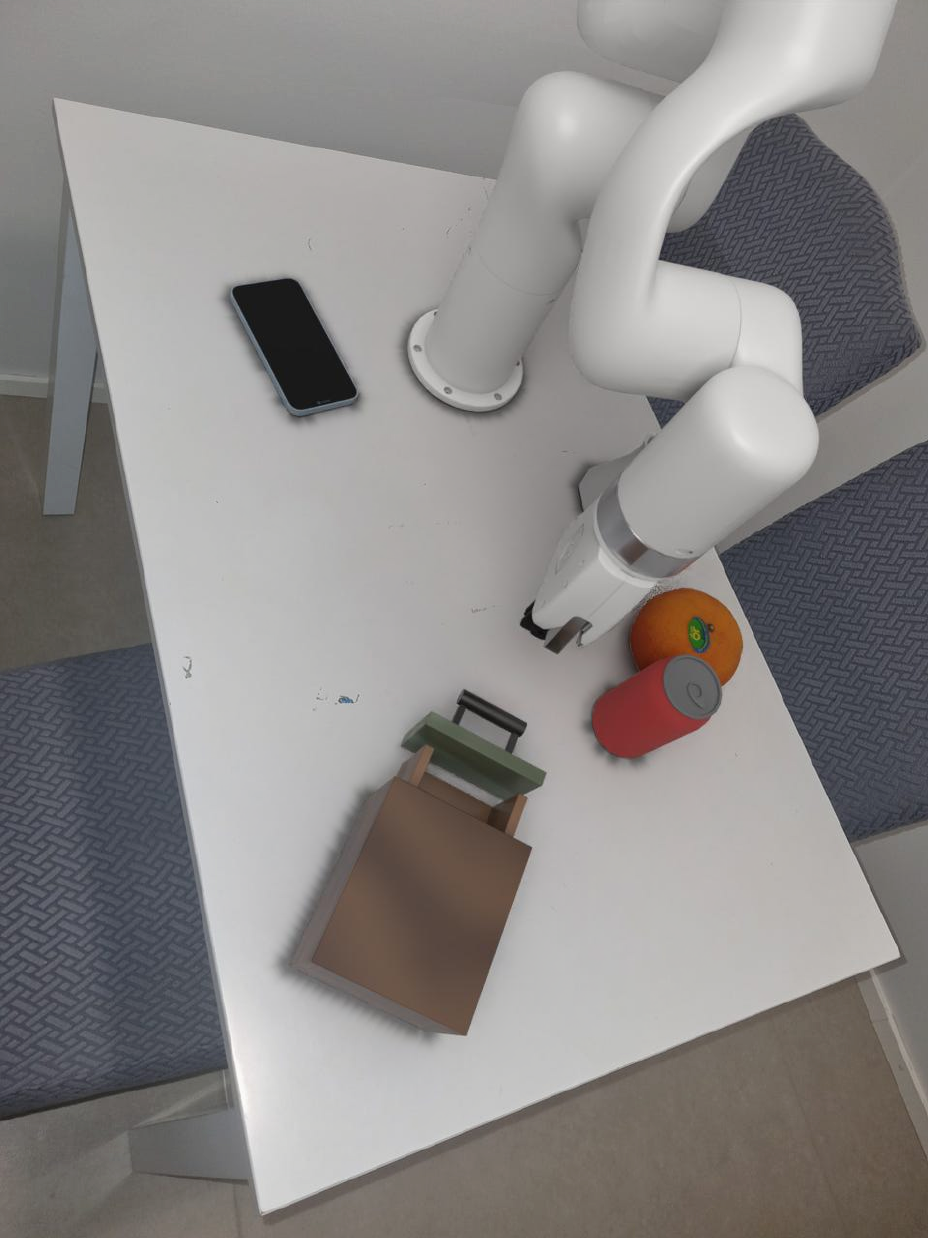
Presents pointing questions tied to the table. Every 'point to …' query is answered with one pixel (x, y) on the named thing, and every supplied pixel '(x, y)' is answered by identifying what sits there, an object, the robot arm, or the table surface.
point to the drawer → (472, 763)
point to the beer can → (657, 706)
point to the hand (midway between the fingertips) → (537, 626)
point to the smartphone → (293, 345)
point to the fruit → (687, 631)
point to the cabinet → (414, 909)
